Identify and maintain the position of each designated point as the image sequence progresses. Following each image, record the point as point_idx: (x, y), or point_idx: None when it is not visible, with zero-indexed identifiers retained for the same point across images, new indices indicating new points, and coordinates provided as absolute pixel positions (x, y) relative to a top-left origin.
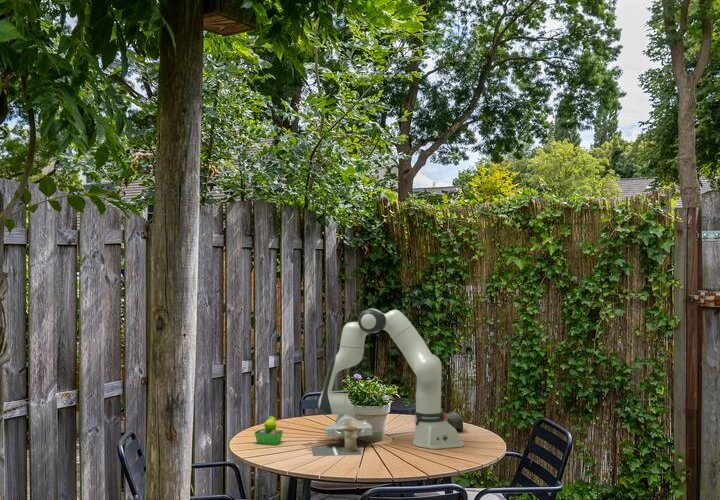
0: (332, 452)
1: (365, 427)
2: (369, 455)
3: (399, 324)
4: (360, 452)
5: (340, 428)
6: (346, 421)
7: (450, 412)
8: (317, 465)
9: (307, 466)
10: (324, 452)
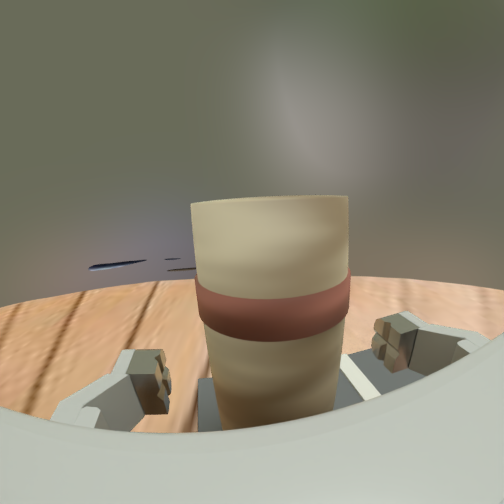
0: (384, 389)
1: (16, 412)
2: (151, 415)
3: None
4: (201, 413)
5: (459, 361)
6: (323, 196)
7: None
8: (363, 303)
9: (384, 295)
10: (423, 376)
